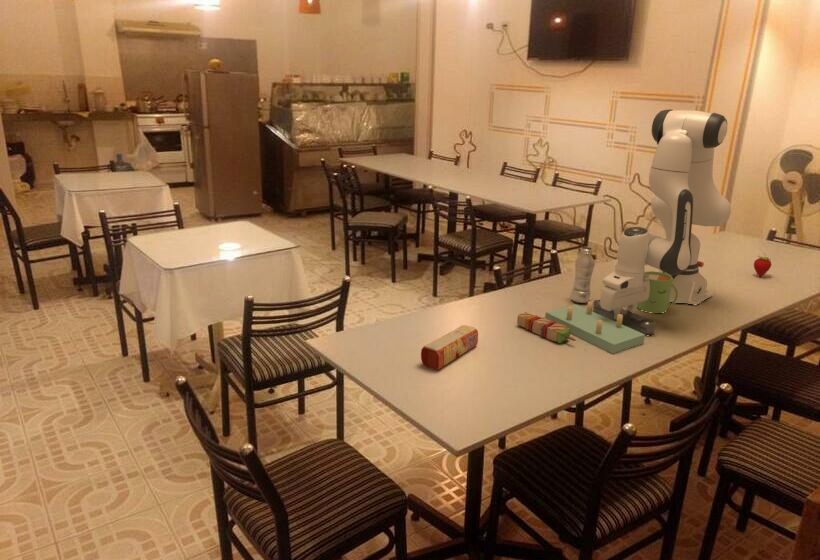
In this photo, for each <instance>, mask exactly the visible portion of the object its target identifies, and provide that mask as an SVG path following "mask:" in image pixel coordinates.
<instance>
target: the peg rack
mask: <svg viewBox="0 0 820 560" xmlns="http://www.w3.org/2000/svg"><path fill="white" fill-rule="evenodd" d="M593 304H594V301H590V300H589V301H588V302H587V307H586V308H585V307H582V306H580V305H578V304H572V305H569V306H565V307H560V308H556V309H552V310H548V311H546V312H545V317H544V318H546V319H548V320H550V321H552V322H553V321H555V322H556V323H559V324H562V325H564V326H566V327H568V328H570V329H571V331H570V335H573V336H575V337H577V338H579V339H581V340H583V341H585V342H587V343H590V344H591V345H594V346H596V347H598V348H600V349H602V350H604V351H605V352H608V353H611V354H612V355H614V354H617V353H621V352H622V351H623V352H624V351H626V350H629V349H631V347H632V348H634V346H635V347H637V345H638V346H641V345H643V343H644V344H645V339H646V338H645V337H646V336H645V334H643V333H640V332H638V331H636V330H633V329H631V328H629V327H627V326H624V325H622V319H623V315H622V314H618V315H617V322H615V321H613V320H611V319H608V318H606V317H604V316H601V315H599V314H597V313H595V312H593ZM640 344H641V345H640Z"/></svg>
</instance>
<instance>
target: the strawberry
mask: <svg viewBox="0 0 820 560" xmlns="http://www.w3.org/2000/svg"><path fill="white" fill-rule="evenodd" d="M763 254H764V257H763V256H760V255H757V257H758V258H757V259H755V260H754V262H753V268H754V270H755V272H756V274H757V276H758V275H759V276H762V277H763V276H764V275H765V274H766V273H767V272H768V271H769V270H770V269H771V267H772V262H771V258H769V256H768V257H767V256H766V255H765V253H763ZM759 276H758V277H759Z"/></svg>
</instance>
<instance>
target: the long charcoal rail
mask: <svg viewBox="0 0 820 560" xmlns="http://www.w3.org/2000/svg"><path fill="white" fill-rule="evenodd" d="M619 311H620V314H622V315H623V319H622V325H624V326H627V327H629V328H631V329H633V330H636V331H638V332H640V333H643V334H645V335H653V336H654V333H655V326H656V321H654V320H653V319H649V318H646V317H643V316H641V315H639V314H637V313H634V312H633V311H632V312H629V311H627V310H626V309H624V308H623V307H622V308H621V310H619ZM592 312H595V313H597V314H599V315H601V316H604V317H606V318H608V319H611V320H613V321H615V322H617V320H616V319H615V318H614V314H615V313H614V311H613V310H611V311H607V310H605V309H602V308H601V306H600V299H595V300H593V307H592Z"/></svg>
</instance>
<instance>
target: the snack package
mask: <svg viewBox="0 0 820 560" xmlns="http://www.w3.org/2000/svg"><path fill="white" fill-rule="evenodd" d="M478 343H479V331H478V329H477V328H475V327H473V326H470V325H466V324H461V326H458V327H457V328H456V329H454V330H452V331H450V332H448V333H445V334H444V335H442V336H441V337H440V338H437V339H436V340H434V341H431V342H430V343H428V344H426V345H423V347H422V348H421V350H420V360H421V363H422V365H424V366H425V367H426V368H428V369H431V370H435V371H436V370H437V371H438V370H440V369H441V368H442V367H444V366H447V365H448V364H449V363H451V362H452V361H454V360H455V359H457V358H458V357H460V356H462V355H463V354H465V353H467V352H468V351H470V350H471V349H474V348H475V347H476V346H477V345H478Z"/></svg>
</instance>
